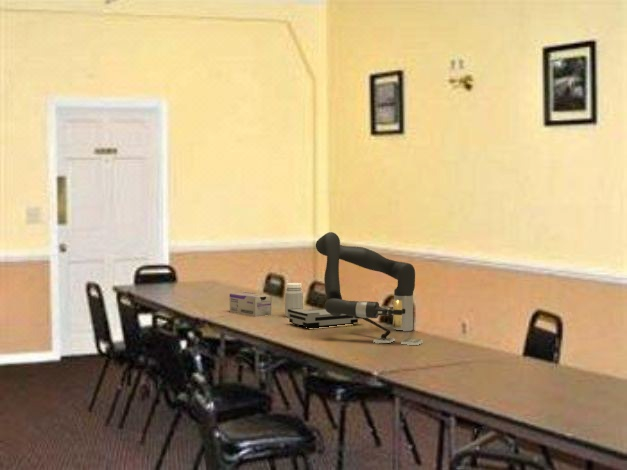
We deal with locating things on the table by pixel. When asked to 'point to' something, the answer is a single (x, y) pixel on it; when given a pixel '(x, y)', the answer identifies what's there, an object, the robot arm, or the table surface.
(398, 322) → the link pin
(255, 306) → the surgical sutures box
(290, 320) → the game console
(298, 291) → the jar
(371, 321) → the wrench
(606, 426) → the table surface
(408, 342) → the metal plates
